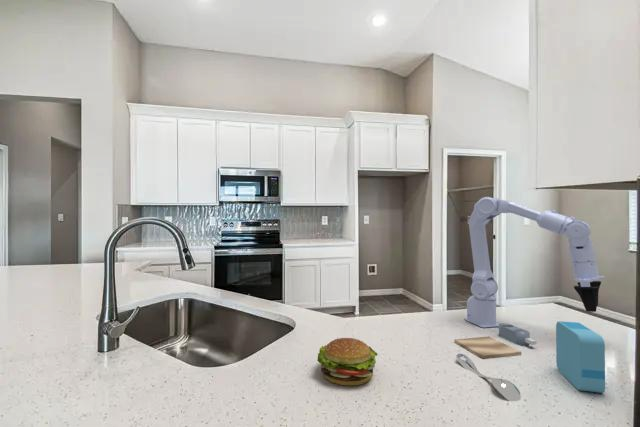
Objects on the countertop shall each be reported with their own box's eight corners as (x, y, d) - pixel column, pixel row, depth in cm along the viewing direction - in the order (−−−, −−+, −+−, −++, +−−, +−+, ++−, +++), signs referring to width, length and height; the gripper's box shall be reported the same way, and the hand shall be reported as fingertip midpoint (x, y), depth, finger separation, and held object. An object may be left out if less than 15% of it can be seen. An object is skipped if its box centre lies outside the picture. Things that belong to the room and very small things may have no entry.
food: (381, 365, 83) (381, 333, 83) (371, 393, 70) (371, 355, 70) (328, 357, 88) (329, 327, 88) (309, 382, 74) (310, 346, 74)
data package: (605, 396, 69) (605, 338, 69) (580, 393, 70) (579, 335, 70) (577, 370, 81) (576, 320, 81) (556, 368, 82) (555, 319, 82)
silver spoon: (451, 346, 86) (467, 345, 87) (450, 359, 86) (467, 358, 87) (505, 390, 66) (526, 388, 67) (504, 408, 67) (525, 406, 67)
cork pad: (454, 342, 99) (454, 339, 99) (489, 339, 101) (489, 336, 101) (482, 358, 87) (482, 355, 87) (521, 354, 90) (521, 351, 90)
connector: (495, 334, 105) (495, 323, 106) (506, 333, 106) (506, 322, 106) (528, 349, 93) (528, 337, 94) (540, 348, 94) (540, 336, 94)
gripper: (599, 263, 90) (609, 314, 88) (602, 258, 100) (611, 304, 99) (567, 264, 94) (576, 313, 93) (573, 259, 105) (581, 303, 103)
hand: (592, 308), depth 96 cm, fingers open, 7 cm apart
